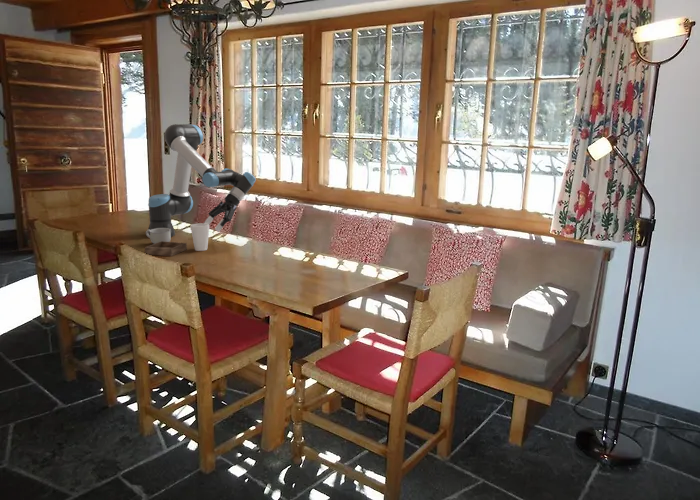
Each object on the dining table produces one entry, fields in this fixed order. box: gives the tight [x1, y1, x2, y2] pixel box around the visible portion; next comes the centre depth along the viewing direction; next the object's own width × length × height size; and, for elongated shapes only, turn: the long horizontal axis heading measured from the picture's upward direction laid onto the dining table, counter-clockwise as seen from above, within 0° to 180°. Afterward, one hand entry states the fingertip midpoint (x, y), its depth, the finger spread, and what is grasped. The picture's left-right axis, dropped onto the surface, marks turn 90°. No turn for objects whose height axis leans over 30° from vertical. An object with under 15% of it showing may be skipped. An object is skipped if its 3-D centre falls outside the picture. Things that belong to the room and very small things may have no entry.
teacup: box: [145, 228, 172, 244], centre depth 290 cm, size 14×11×8 cm
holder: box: [144, 241, 188, 257], centre depth 274 cm, size 15×15×4 cm
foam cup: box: [190, 222, 210, 252], centre depth 279 cm, size 10×9×13 cm
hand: (210, 228), depth 280 cm, fingers open, 13 cm apart
